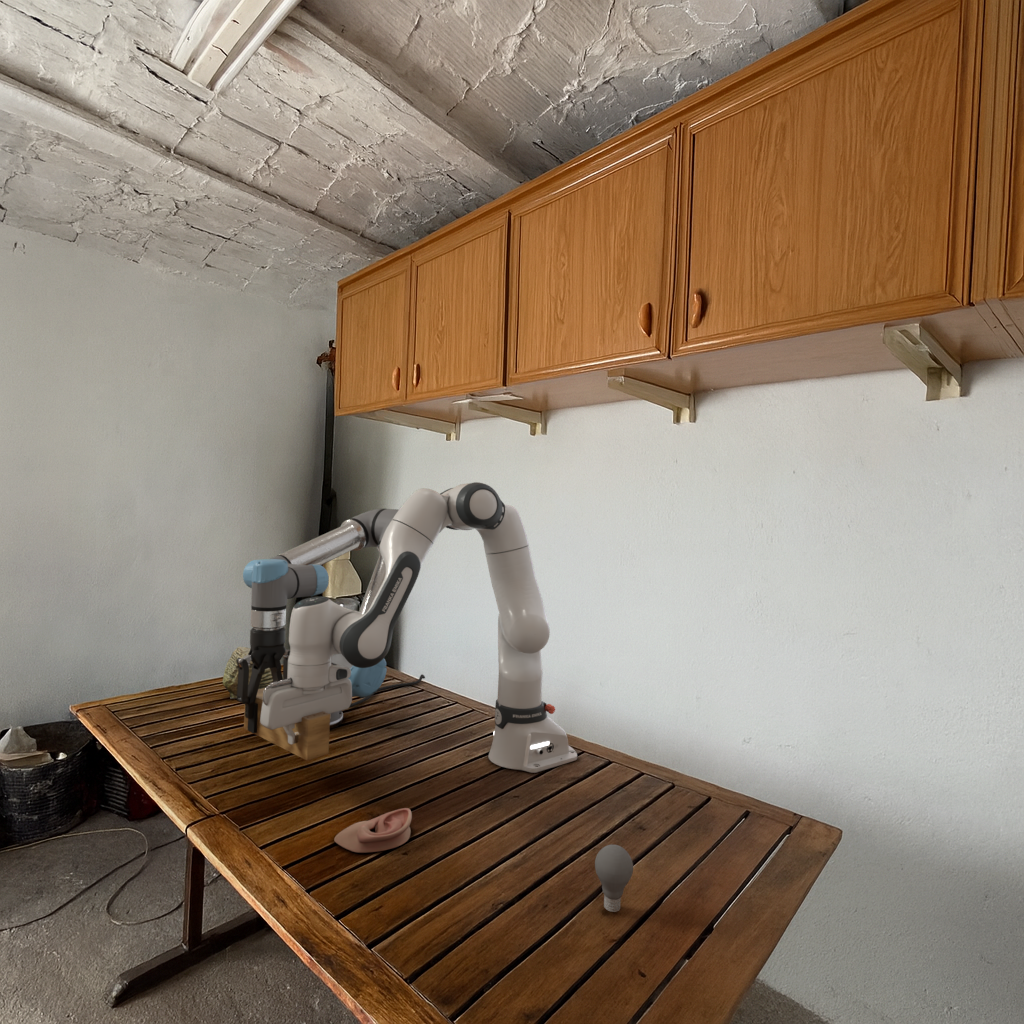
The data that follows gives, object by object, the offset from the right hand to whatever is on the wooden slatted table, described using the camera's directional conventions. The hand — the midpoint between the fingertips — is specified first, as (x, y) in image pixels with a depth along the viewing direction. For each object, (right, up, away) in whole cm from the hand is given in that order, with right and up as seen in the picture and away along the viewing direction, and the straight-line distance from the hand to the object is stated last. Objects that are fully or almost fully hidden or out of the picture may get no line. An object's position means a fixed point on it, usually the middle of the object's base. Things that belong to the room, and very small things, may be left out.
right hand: (307, 738), depth 135 cm
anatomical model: (+18, -13, -16) cm, 27 cm away
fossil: (-37, -9, +63) cm, 74 cm away
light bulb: (+59, -15, -34) cm, 70 cm away
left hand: (-13, -1, +10) cm, 17 cm away
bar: (-7, -2, +5) cm, 9 cm away
